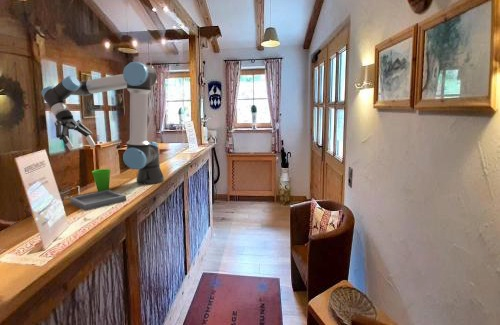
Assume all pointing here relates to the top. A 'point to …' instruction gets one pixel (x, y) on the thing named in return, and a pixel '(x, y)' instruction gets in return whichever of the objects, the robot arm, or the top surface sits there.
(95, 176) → the cup
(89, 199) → the tray
